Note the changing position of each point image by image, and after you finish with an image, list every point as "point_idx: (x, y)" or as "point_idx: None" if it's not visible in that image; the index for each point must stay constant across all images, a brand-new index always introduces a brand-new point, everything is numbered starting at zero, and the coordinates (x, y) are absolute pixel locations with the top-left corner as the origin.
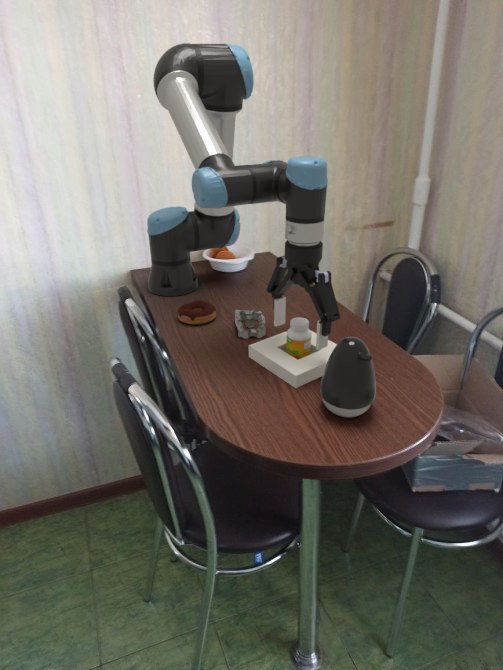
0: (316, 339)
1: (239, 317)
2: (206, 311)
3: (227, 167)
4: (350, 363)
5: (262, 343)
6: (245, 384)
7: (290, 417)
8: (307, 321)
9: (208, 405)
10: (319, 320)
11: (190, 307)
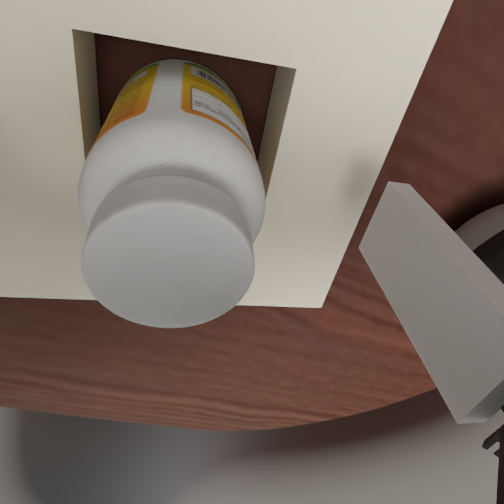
0: (384, 290)
1: None
2: None
3: None
4: None
5: (10, 246)
6: (177, 343)
7: (362, 344)
8: (226, 235)
9: (187, 416)
10: (474, 415)
11: None
